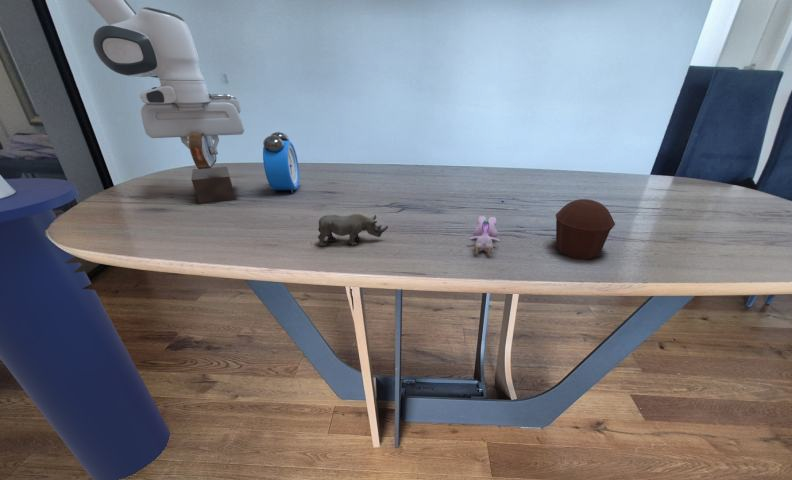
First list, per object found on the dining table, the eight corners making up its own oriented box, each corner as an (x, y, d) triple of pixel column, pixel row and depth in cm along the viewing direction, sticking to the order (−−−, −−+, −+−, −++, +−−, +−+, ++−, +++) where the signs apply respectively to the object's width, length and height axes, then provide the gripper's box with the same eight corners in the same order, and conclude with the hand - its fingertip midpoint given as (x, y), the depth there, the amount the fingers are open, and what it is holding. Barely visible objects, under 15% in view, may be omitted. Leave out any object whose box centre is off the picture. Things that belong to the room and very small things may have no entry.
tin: (207, 160, 100) (195, 127, 96) (220, 159, 101) (209, 126, 97) (196, 173, 88) (182, 135, 84) (211, 171, 89) (198, 134, 85)
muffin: (611, 265, 70) (625, 214, 65) (552, 259, 71) (560, 209, 66) (601, 240, 80) (612, 195, 75) (549, 236, 81) (556, 191, 76)
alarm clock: (293, 196, 100) (282, 138, 92) (269, 197, 99) (255, 137, 91) (302, 183, 111) (292, 130, 103) (280, 183, 110) (269, 130, 102)
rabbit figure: (498, 263, 72) (501, 224, 83) (500, 237, 68) (503, 200, 79) (466, 261, 72) (473, 222, 84) (467, 235, 68) (474, 198, 80)
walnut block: (199, 203, 92) (191, 179, 89) (199, 191, 101) (192, 169, 98) (235, 199, 96) (229, 176, 93) (232, 187, 105) (227, 166, 102)
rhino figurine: (389, 244, 75) (387, 216, 72) (317, 248, 72) (312, 218, 69) (388, 236, 78) (386, 209, 75) (320, 239, 75) (315, 211, 73)
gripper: (236, 93, 94) (249, 149, 100) (134, 92, 84) (156, 155, 91) (238, 94, 89) (252, 154, 96) (130, 94, 79) (154, 160, 86)
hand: (204, 154), depth 93 cm, fingers closed on tin, 3 cm apart
